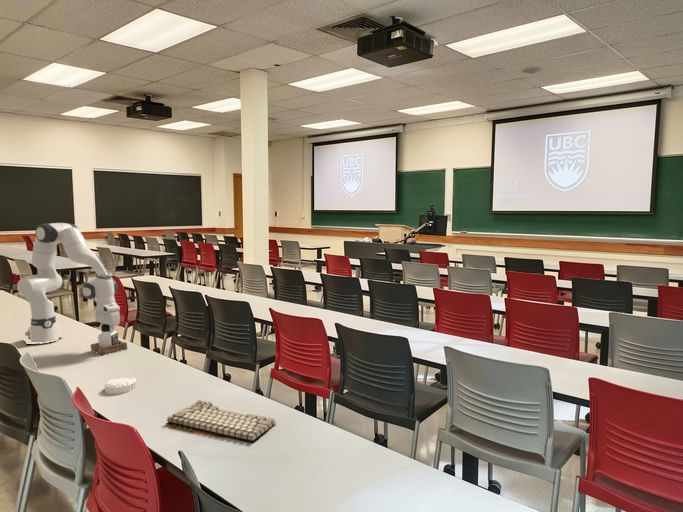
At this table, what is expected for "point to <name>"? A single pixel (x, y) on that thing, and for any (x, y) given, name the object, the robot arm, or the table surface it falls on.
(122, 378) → the mooncake
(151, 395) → the table surface
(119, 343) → the brown wooden tray
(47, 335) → the robot arm
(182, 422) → the mechanical keyboard
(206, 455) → the table surface
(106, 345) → the medicine bottle
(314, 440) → the table surface
